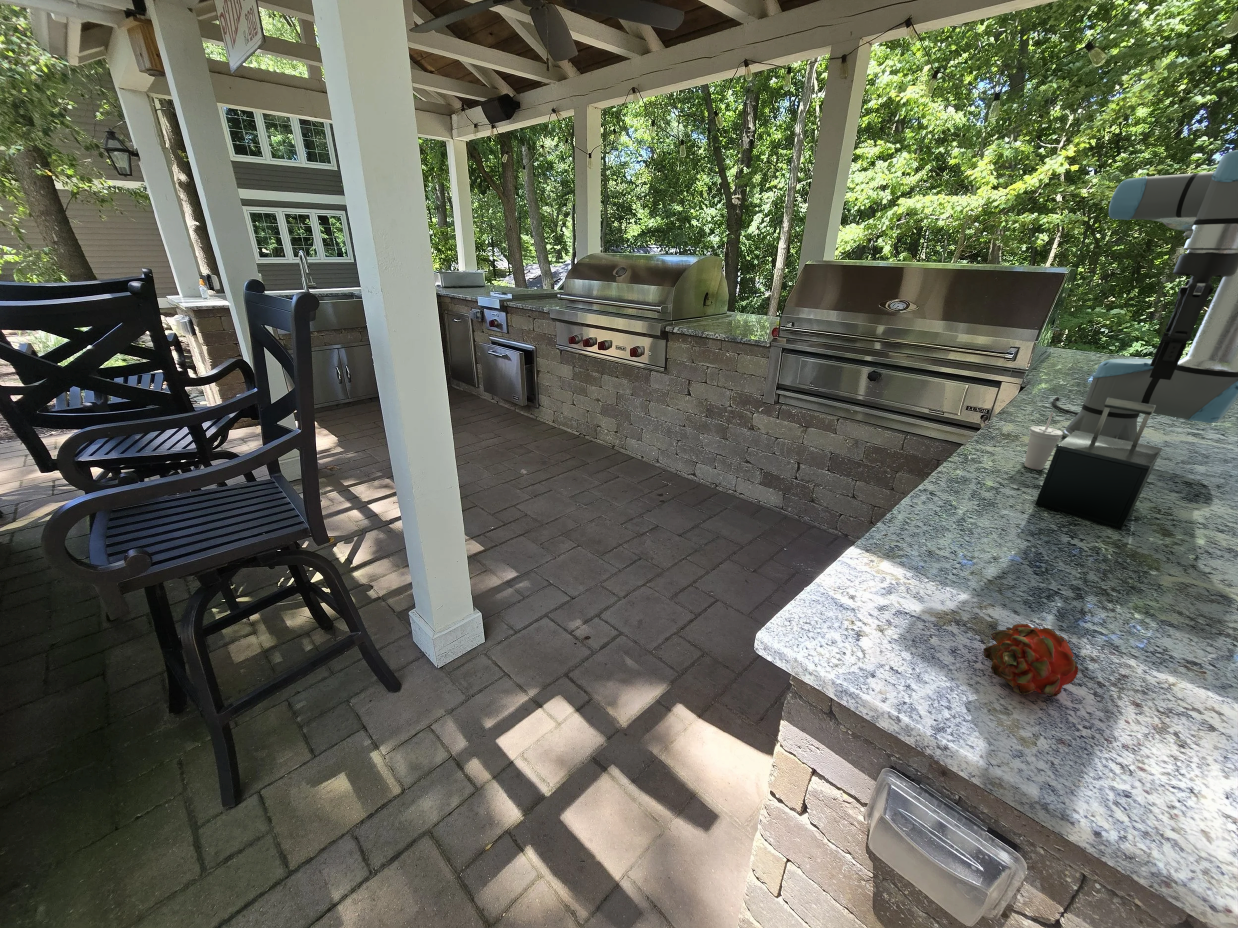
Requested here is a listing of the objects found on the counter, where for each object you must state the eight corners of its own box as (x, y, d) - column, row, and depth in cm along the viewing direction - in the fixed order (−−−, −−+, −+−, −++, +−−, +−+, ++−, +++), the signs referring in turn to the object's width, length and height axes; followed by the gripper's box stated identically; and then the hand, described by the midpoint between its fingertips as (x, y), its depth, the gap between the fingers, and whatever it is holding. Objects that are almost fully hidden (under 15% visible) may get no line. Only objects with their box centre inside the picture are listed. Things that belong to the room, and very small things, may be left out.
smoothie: (1045, 464, 126) (1065, 411, 120) (1053, 473, 121) (1074, 418, 115) (1014, 460, 129) (1032, 408, 123) (1021, 469, 123) (1040, 415, 118)
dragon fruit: (993, 713, 60) (1017, 674, 68) (1083, 718, 54) (1099, 675, 62) (964, 642, 62) (992, 612, 69) (1049, 639, 55) (1069, 607, 63)
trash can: (1052, 487, 114) (1072, 434, 109) (1133, 509, 104) (1160, 452, 99) (1034, 504, 106) (1055, 448, 101) (1120, 530, 96) (1148, 470, 91)
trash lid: (1073, 433, 109) (1089, 392, 106) (1160, 451, 100) (1181, 407, 96) (1056, 448, 101) (1072, 404, 97) (1148, 470, 91) (1171, 422, 88)
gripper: (1179, 251, 97) (1134, 360, 106) (1183, 252, 81) (1130, 380, 90) (1237, 251, 92) (1185, 365, 101) (1254, 252, 76) (1190, 388, 85)
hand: (1159, 372), depth 95 cm, fingers open, 13 cm apart
